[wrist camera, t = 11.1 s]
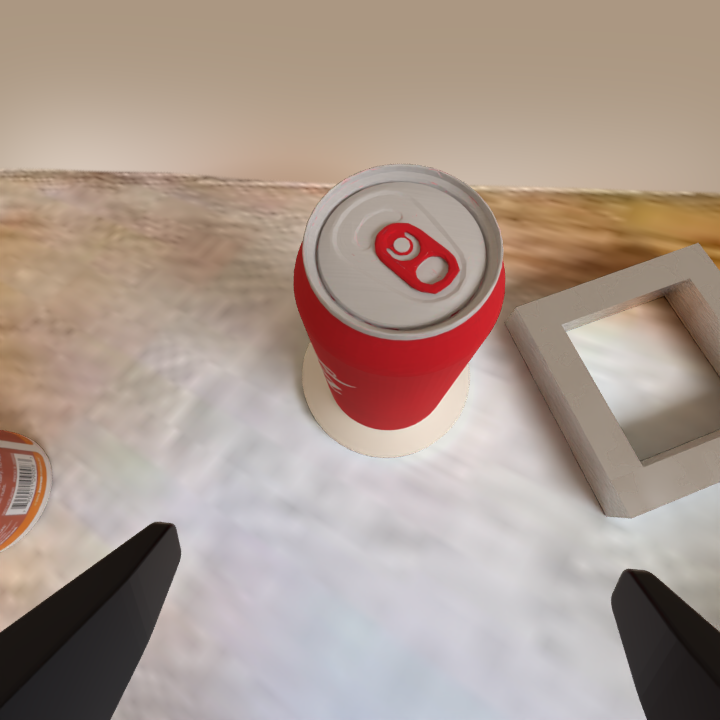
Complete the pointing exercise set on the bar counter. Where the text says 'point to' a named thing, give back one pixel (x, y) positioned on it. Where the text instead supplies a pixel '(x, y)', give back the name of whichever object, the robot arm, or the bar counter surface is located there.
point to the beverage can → (398, 289)
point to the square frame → (582, 397)
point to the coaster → (374, 439)
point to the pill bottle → (21, 486)
